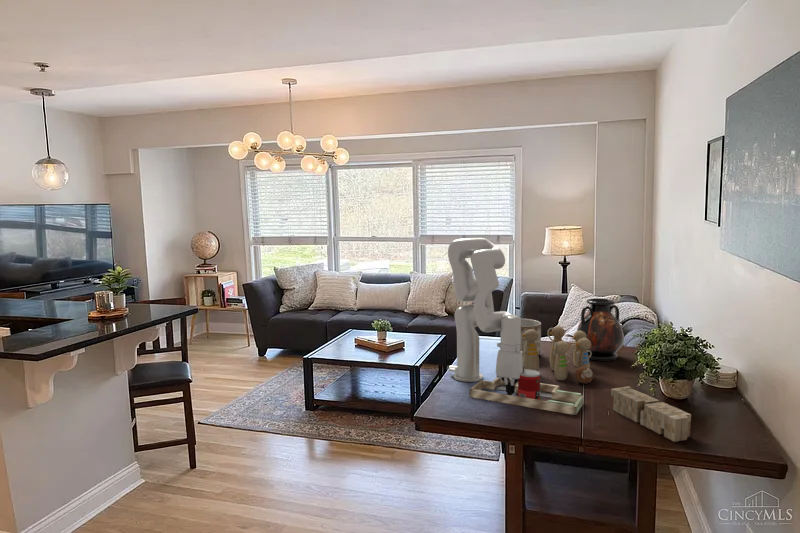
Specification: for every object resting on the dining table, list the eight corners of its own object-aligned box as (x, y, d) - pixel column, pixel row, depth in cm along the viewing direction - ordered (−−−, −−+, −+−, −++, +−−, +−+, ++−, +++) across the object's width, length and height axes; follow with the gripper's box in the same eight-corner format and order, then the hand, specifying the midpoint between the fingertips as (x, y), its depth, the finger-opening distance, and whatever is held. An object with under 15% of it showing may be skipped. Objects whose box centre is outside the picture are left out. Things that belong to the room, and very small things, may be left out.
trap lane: (469, 396, 206) (469, 387, 206) (487, 382, 224) (487, 373, 223) (576, 415, 187) (576, 405, 186) (587, 397, 204) (587, 388, 204)
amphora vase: (608, 350, 272) (609, 296, 269) (632, 362, 250) (634, 303, 247) (568, 352, 269) (569, 297, 266) (588, 364, 247) (590, 304, 245)
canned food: (540, 404, 197) (540, 375, 196) (518, 403, 199) (518, 374, 198) (539, 397, 205) (539, 369, 203) (517, 396, 206) (518, 368, 205)
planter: (545, 360, 256) (545, 326, 254) (504, 360, 256) (504, 326, 254) (535, 349, 275) (535, 318, 273) (497, 350, 275) (498, 318, 274)
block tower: (693, 441, 167) (628, 406, 195) (695, 416, 166) (629, 384, 194) (673, 445, 165) (609, 409, 192) (675, 419, 164) (611, 386, 191)
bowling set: (562, 392, 211) (563, 342, 209) (517, 375, 234) (517, 329, 232) (626, 377, 229) (628, 330, 227) (578, 362, 252) (579, 319, 250)
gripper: (488, 347, 204) (488, 394, 205) (527, 352, 196) (526, 400, 198) (495, 343, 210) (494, 388, 212) (532, 347, 203) (532, 394, 204)
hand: (510, 394), depth 205 cm, fingers closed
